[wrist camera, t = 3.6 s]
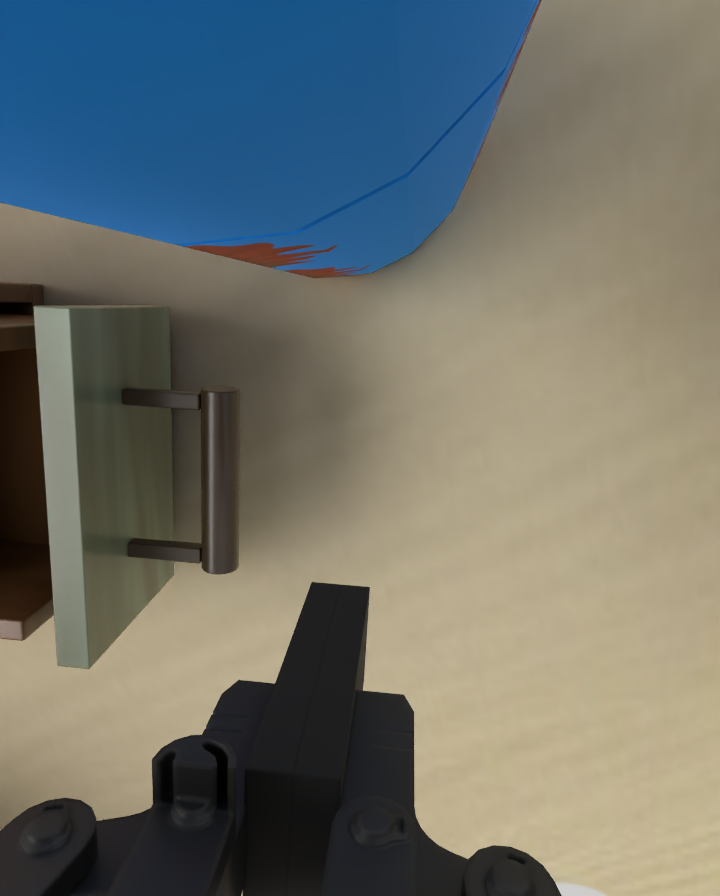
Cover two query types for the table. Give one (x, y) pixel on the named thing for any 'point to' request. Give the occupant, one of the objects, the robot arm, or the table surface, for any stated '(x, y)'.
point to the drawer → (101, 473)
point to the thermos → (254, 119)
